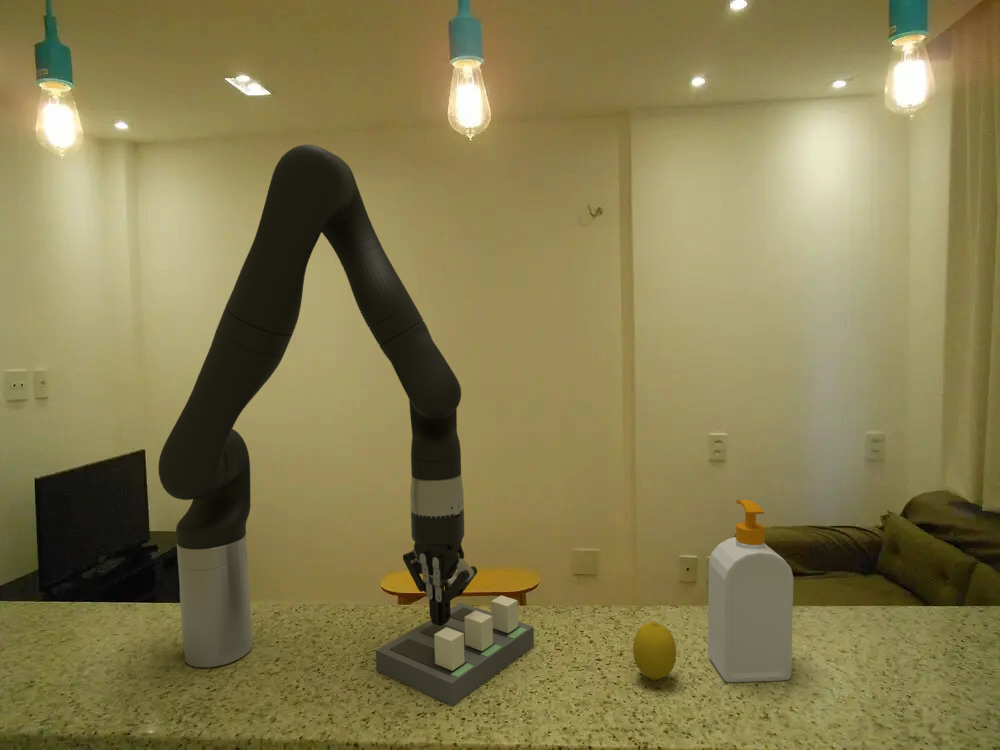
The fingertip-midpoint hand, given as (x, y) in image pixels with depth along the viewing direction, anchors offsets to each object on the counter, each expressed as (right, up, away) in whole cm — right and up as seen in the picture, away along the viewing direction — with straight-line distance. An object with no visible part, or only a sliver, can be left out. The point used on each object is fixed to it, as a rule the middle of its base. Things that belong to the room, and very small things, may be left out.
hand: (440, 622), depth 94 cm
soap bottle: (+42, -4, -5) cm, 43 cm away
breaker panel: (+3, -5, -1) cm, 5 cm away
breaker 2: (+9, -1, +1) cm, 9 cm away
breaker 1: (+2, -2, -9) cm, 9 cm away
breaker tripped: (+6, -1, -4) cm, 7 cm away
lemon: (+29, -5, -8) cm, 31 cm away
